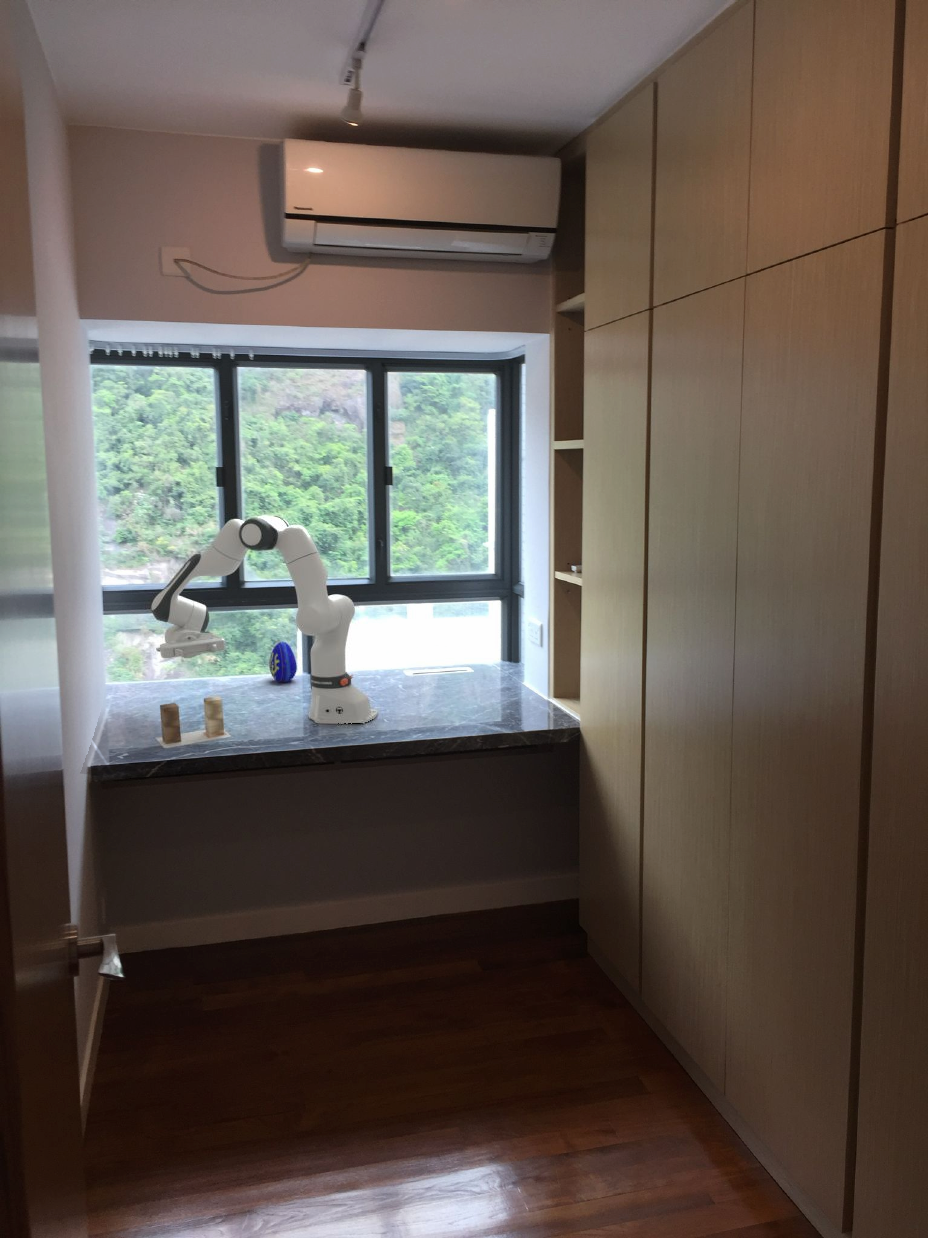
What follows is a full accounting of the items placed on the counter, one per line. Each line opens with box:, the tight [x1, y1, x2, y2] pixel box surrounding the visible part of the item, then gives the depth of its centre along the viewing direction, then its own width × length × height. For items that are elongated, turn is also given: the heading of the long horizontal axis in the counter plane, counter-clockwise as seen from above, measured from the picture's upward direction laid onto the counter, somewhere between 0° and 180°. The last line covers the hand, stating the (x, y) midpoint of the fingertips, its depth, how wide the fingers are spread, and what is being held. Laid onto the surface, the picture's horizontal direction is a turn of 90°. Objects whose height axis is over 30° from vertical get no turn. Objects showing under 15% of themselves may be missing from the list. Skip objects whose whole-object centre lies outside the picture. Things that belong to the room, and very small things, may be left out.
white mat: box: [155, 729, 232, 749], centre depth 286 cm, size 20×11×1 cm, turn 121°
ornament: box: [268, 641, 298, 683], centre depth 350 cm, size 11×9×15 cm
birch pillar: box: [203, 695, 225, 736], centre depth 288 cm, size 4×4×11 cm
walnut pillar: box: [159, 702, 182, 744], centre depth 282 cm, size 4×4×11 cm
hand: (199, 651), depth 295 cm, fingers open, 8 cm apart
